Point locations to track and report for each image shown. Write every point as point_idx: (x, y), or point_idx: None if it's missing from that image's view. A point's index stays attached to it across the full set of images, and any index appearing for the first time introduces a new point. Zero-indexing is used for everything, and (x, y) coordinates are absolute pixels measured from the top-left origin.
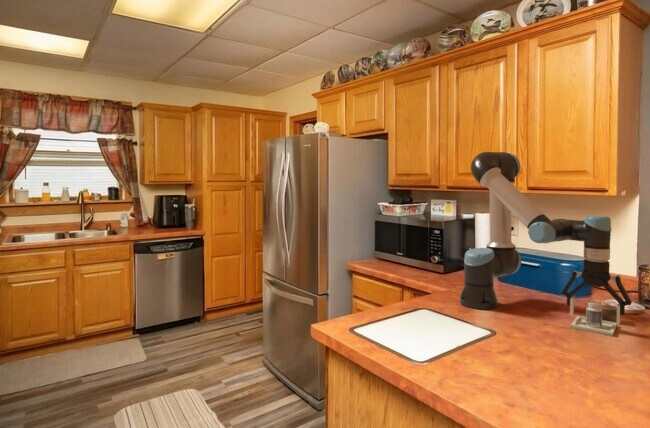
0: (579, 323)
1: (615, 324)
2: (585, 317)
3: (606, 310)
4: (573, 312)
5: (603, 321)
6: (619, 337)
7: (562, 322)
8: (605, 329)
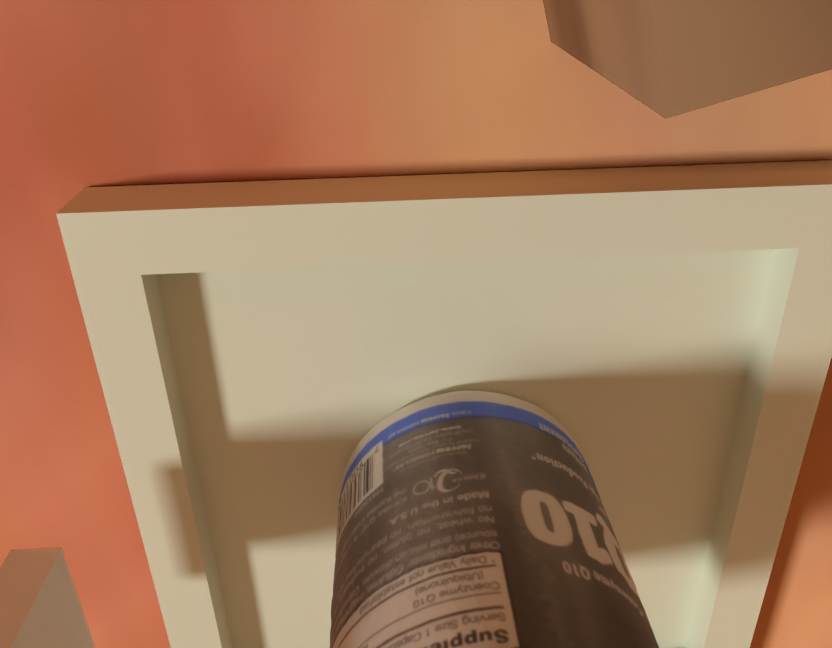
0: (247, 522)
1: (829, 308)
2: (246, 227)
3: (799, 61)
4: (50, 610)
5: (616, 253)
6: (786, 635)
7: (4, 551)
8: (637, 543)
